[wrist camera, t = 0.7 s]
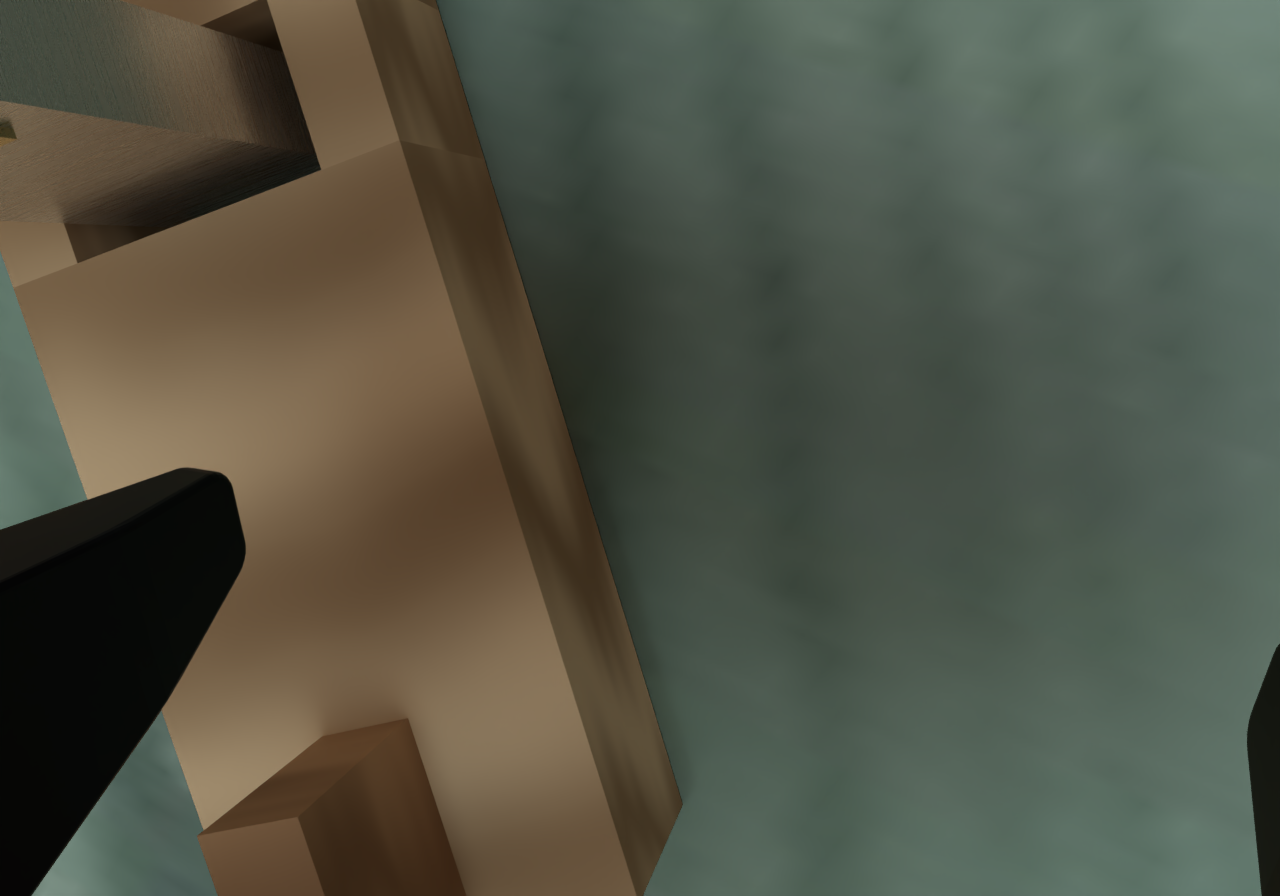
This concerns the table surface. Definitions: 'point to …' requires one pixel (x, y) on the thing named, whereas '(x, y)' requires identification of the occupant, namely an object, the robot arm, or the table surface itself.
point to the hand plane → (366, 497)
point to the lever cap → (138, 116)
